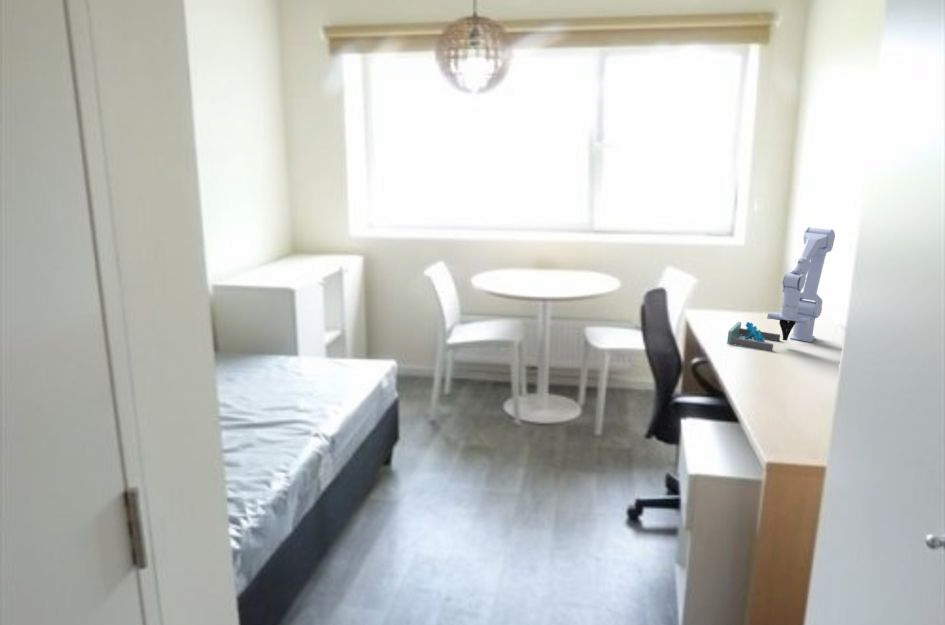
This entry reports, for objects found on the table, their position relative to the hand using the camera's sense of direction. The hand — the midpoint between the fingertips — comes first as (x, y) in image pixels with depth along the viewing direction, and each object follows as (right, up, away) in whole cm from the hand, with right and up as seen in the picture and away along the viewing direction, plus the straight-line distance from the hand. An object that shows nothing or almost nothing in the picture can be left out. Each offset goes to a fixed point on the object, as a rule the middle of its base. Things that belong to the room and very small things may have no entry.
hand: (785, 339), depth 264 cm
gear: (-9, -1, +6) cm, 11 cm away
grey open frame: (-9, -1, +6) cm, 11 cm away
